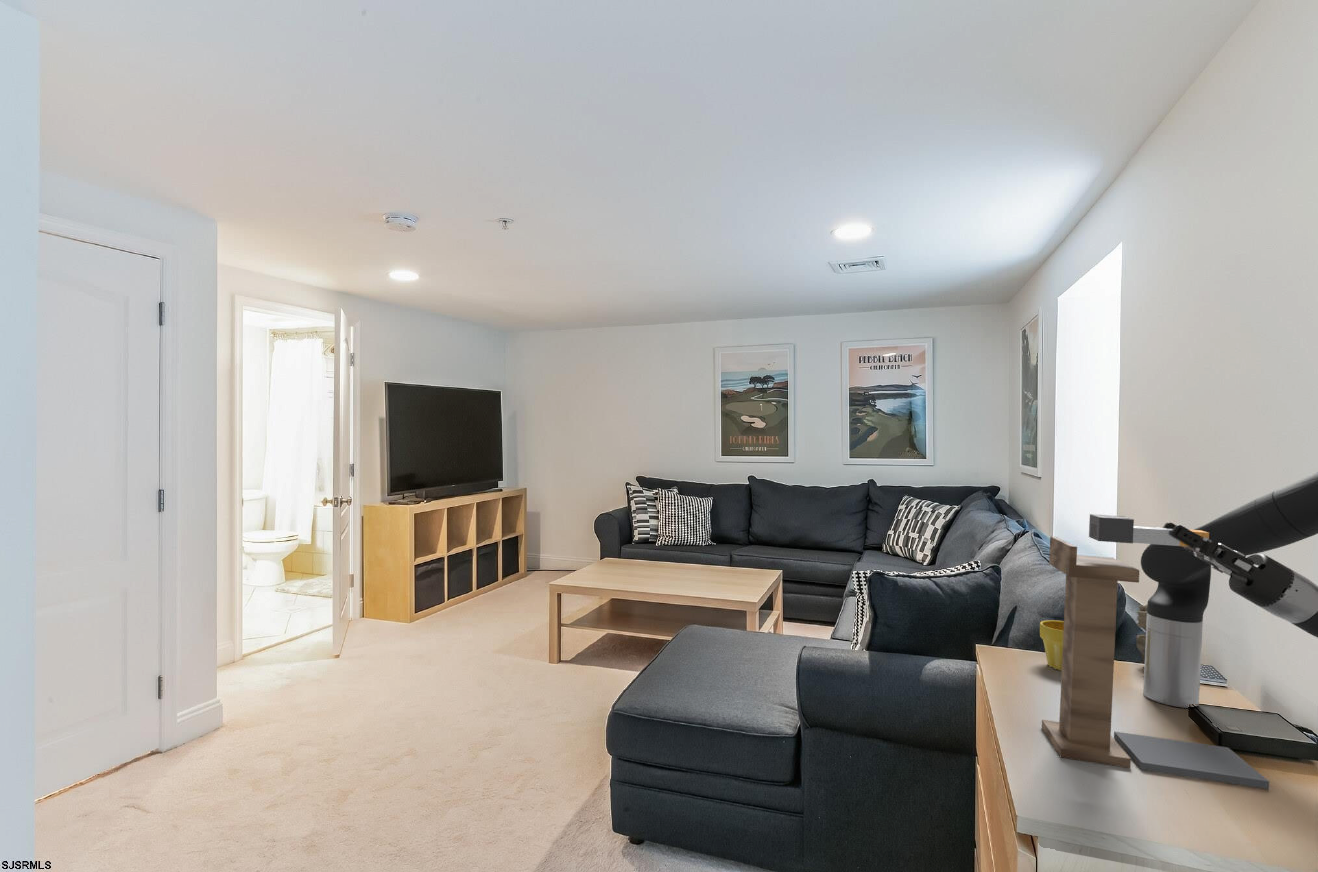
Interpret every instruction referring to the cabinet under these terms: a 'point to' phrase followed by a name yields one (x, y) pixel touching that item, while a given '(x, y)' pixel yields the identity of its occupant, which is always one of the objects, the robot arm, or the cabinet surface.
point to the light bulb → (1142, 623)
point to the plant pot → (1053, 641)
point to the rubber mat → (1189, 760)
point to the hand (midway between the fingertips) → (1169, 528)
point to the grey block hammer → (1131, 531)
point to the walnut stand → (1087, 656)
